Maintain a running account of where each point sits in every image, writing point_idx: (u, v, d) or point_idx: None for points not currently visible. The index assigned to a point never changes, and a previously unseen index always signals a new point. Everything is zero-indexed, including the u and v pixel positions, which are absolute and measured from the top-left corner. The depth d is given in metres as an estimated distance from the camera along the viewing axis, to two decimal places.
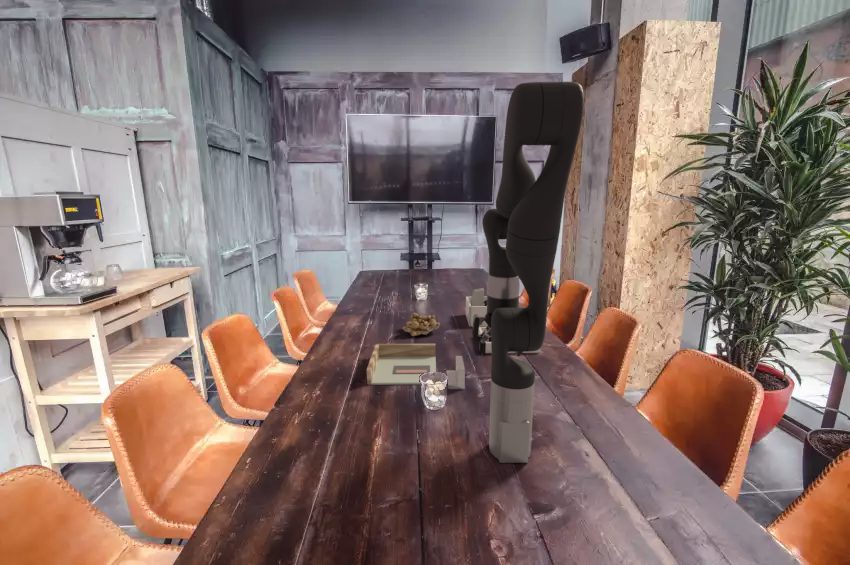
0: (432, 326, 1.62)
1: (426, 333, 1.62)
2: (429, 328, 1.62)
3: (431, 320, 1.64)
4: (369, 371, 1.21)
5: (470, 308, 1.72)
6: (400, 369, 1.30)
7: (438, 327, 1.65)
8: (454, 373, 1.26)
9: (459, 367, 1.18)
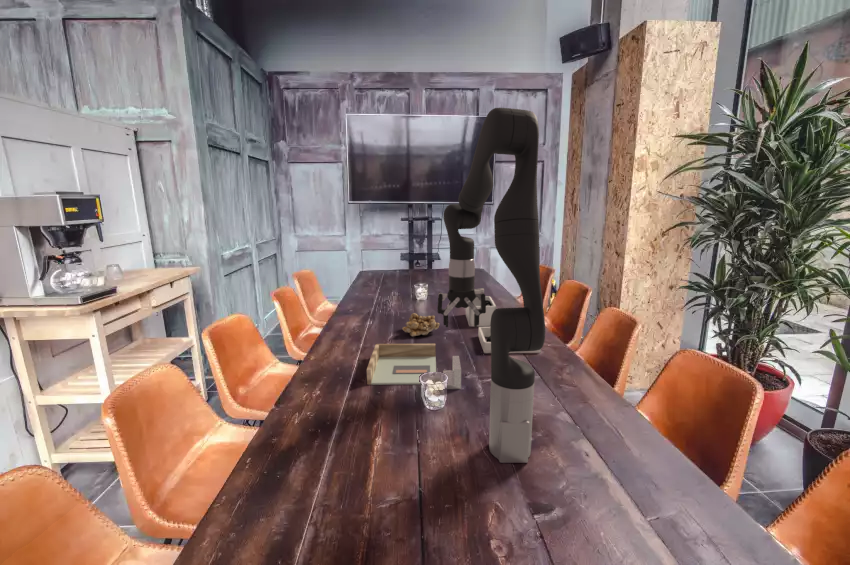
0: (432, 326, 1.62)
1: (426, 333, 1.62)
2: (429, 328, 1.61)
3: (431, 320, 1.64)
4: (369, 371, 1.21)
5: (470, 308, 1.72)
6: (400, 369, 1.30)
7: (438, 327, 1.65)
8: (451, 373, 1.26)
9: (455, 367, 1.18)
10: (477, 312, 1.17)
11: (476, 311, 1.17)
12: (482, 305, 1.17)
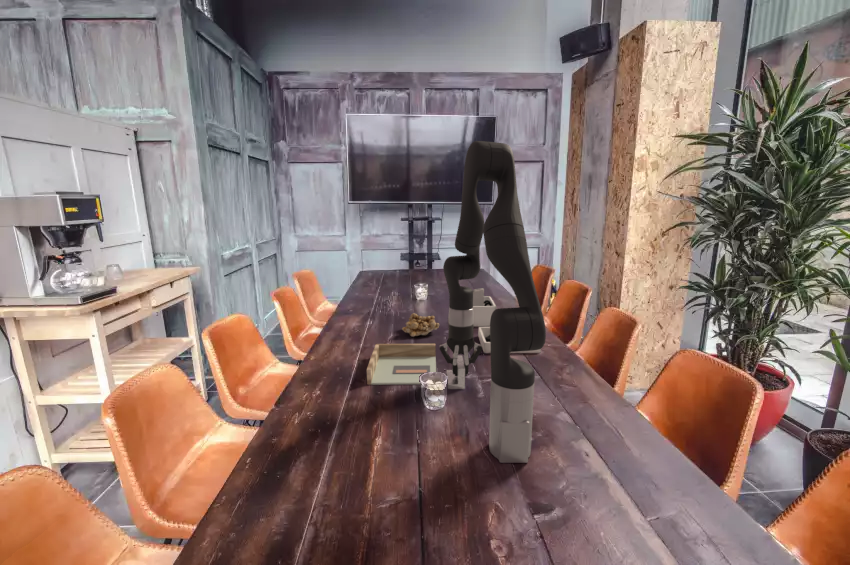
0: (431, 327, 1.61)
1: (425, 334, 1.62)
2: (428, 329, 1.61)
3: (430, 321, 1.63)
4: (369, 371, 1.21)
5: None
6: (400, 369, 1.30)
7: None
8: None
9: (459, 366, 1.18)
10: (466, 362, 1.21)
11: (466, 361, 1.21)
12: (474, 356, 1.20)
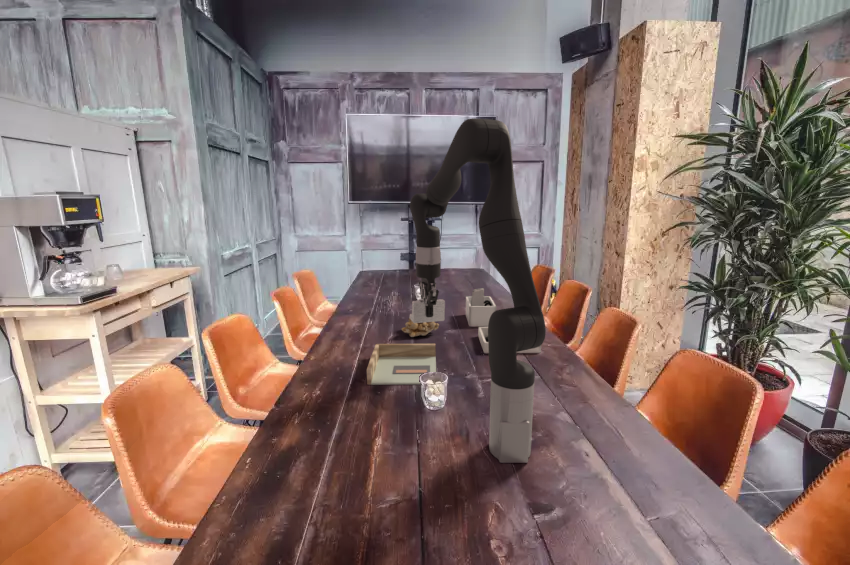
0: (431, 327, 1.61)
1: (425, 334, 1.61)
2: (428, 329, 1.60)
3: None
4: (369, 371, 1.21)
5: (470, 308, 1.72)
6: (400, 369, 1.30)
7: (437, 328, 1.64)
8: None
9: (416, 301, 1.22)
10: (426, 302, 1.21)
11: (426, 301, 1.21)
12: (428, 298, 1.18)
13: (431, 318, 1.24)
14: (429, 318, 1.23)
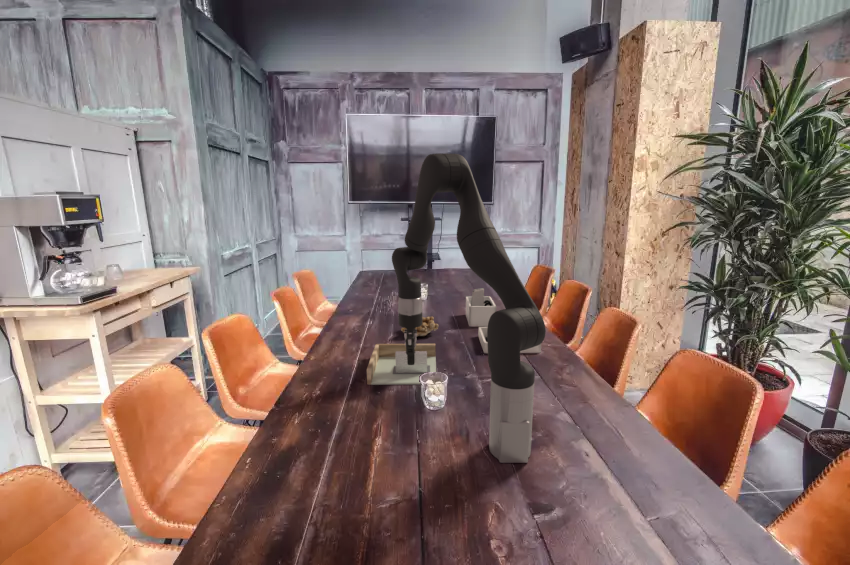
0: (430, 327, 1.60)
1: (424, 334, 1.61)
2: (427, 329, 1.60)
3: (430, 321, 1.62)
4: (369, 371, 1.21)
5: (470, 308, 1.72)
6: None
7: (437, 328, 1.63)
8: None
9: (399, 351, 1.28)
10: None
11: None
12: None
13: (413, 369, 1.27)
14: (411, 369, 1.27)
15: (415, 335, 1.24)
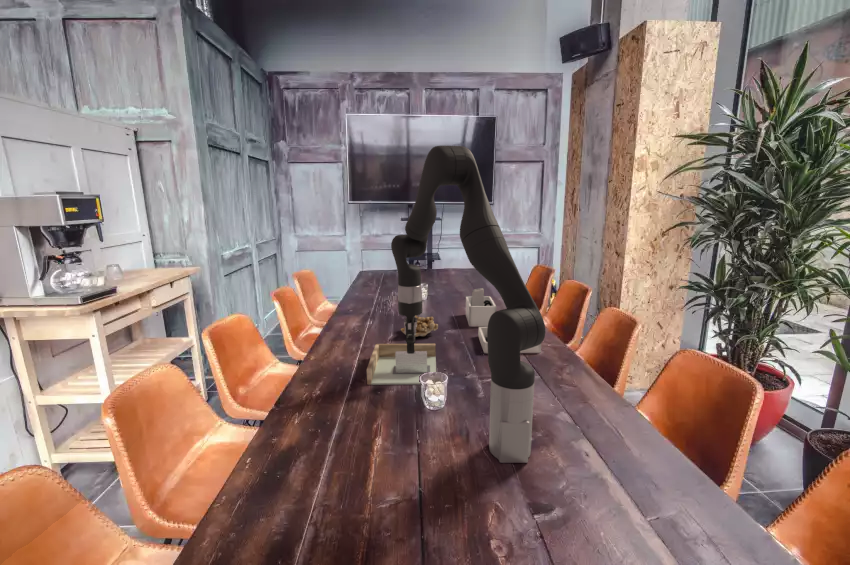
0: (430, 328, 1.60)
1: (424, 335, 1.60)
2: (427, 330, 1.60)
3: (429, 322, 1.62)
4: (369, 371, 1.21)
5: (470, 308, 1.72)
6: None
7: None
8: None
9: (399, 351, 1.28)
10: None
11: None
12: None
13: (413, 369, 1.27)
14: (411, 369, 1.27)
15: (415, 322, 1.23)
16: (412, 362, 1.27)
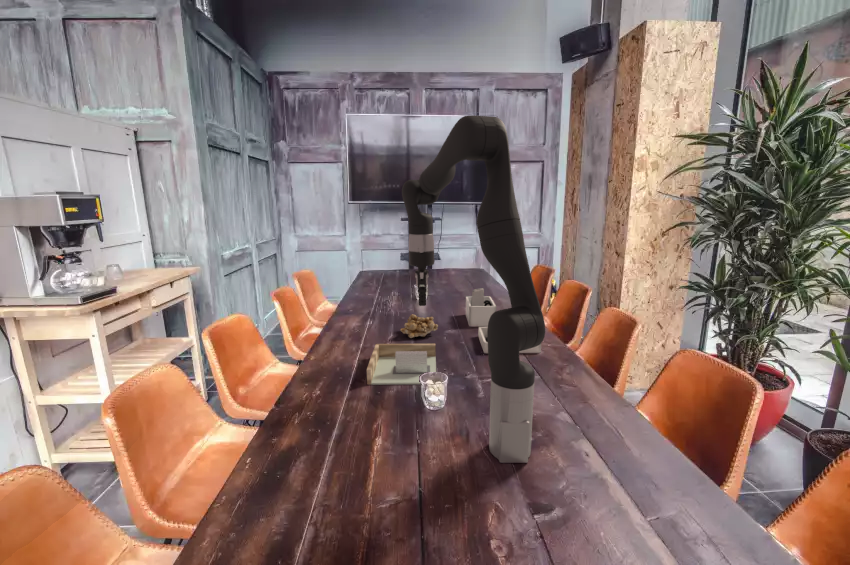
0: (430, 328, 1.60)
1: (424, 335, 1.60)
2: (427, 330, 1.59)
3: (429, 322, 1.62)
4: (369, 371, 1.21)
5: (470, 308, 1.72)
6: None
7: (436, 329, 1.63)
8: None
9: (399, 351, 1.28)
10: None
11: (418, 289, 1.16)
12: None
13: (413, 369, 1.27)
14: (411, 369, 1.27)
15: (427, 274, 1.18)
16: (412, 362, 1.27)
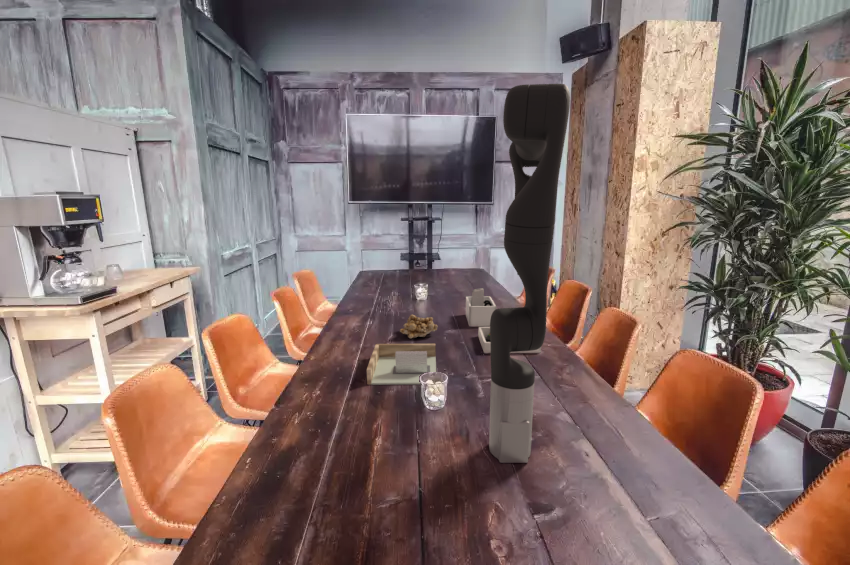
0: (429, 328, 1.59)
1: (423, 335, 1.60)
2: (426, 330, 1.59)
3: (429, 322, 1.61)
4: (369, 371, 1.21)
5: (470, 308, 1.72)
6: None
7: (436, 329, 1.62)
8: None
9: (399, 351, 1.28)
10: None
11: None
12: None
13: (413, 369, 1.27)
14: (411, 369, 1.27)
15: None
16: (412, 362, 1.27)
